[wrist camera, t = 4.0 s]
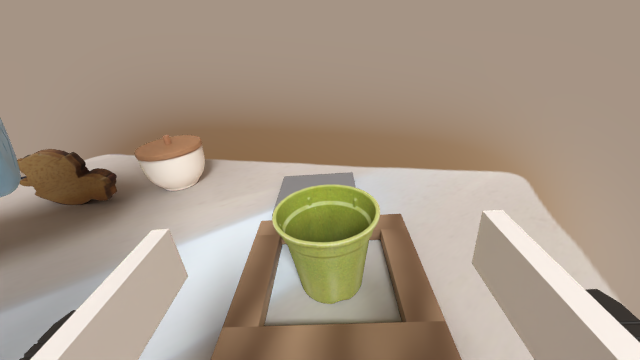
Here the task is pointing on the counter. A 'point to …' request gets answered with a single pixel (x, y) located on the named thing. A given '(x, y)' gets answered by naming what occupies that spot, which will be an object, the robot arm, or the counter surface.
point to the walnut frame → (337, 339)
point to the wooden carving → (65, 178)
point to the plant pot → (328, 237)
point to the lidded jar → (172, 161)
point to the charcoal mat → (312, 183)
